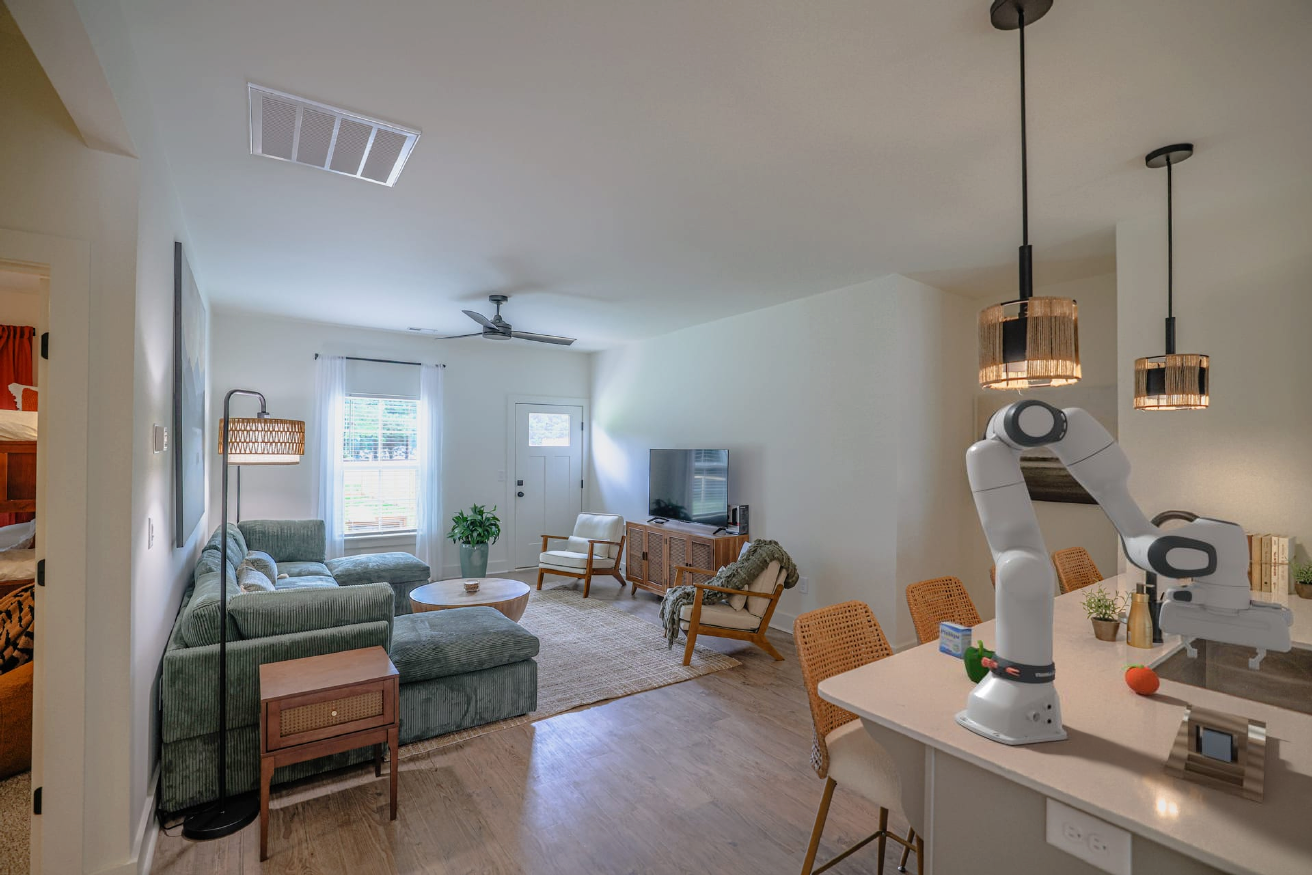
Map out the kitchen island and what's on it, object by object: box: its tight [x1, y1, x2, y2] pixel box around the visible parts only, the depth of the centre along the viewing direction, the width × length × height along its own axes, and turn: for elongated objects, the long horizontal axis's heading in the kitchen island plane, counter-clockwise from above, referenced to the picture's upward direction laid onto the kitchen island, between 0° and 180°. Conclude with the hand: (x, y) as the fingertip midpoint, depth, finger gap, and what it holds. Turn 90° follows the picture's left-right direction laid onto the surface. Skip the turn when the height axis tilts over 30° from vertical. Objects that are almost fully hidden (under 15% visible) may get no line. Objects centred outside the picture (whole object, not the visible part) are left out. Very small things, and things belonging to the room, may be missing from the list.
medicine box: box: [938, 621, 973, 660], centre depth 183 cm, size 8×4×9 cm, turn 25°
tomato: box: [1119, 664, 1161, 696], centre depth 155 cm, size 8×7×7 cm
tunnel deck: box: [1165, 703, 1267, 804], centre depth 124 cm, size 38×13×8 cm, turn 134°
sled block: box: [1202, 708, 1235, 762], centre depth 123 cm, size 16×4×4 cm, turn 134°
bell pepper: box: [963, 639, 995, 683], centre depth 161 cm, size 8×8×10 cm
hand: (1222, 662), depth 127 cm, fingers open, 8 cm apart
